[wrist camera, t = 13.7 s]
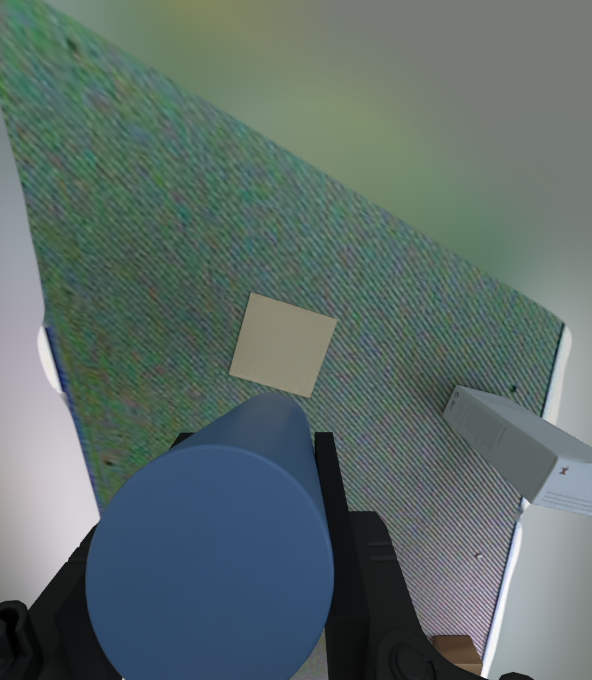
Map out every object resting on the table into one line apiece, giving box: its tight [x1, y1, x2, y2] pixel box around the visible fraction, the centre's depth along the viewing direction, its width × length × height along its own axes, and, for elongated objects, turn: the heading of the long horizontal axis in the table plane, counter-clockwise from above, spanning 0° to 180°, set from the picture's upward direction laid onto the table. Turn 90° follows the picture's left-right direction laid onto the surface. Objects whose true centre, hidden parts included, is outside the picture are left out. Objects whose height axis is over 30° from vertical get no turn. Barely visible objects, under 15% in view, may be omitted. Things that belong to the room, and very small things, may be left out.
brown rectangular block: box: [433, 636, 483, 676], centre depth 39 cm, size 3×5×3 cm, turn 91°
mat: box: [229, 292, 338, 398], centre depth 29 cm, size 9×9×1 cm
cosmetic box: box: [442, 385, 592, 516], centre depth 25 cm, size 6×4×12 cm
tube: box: [85, 393, 334, 680], centre depth 12 cm, size 12×5×5 cm
